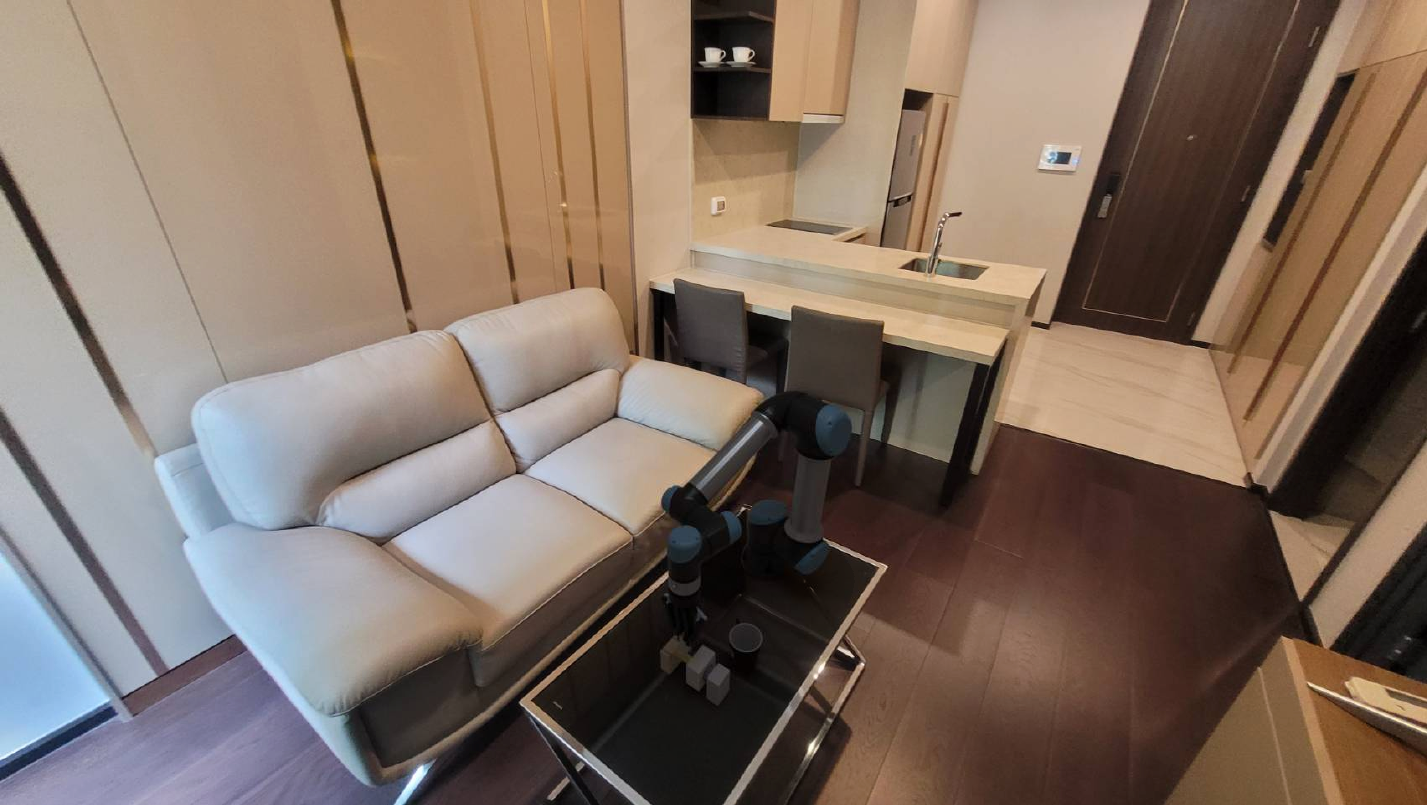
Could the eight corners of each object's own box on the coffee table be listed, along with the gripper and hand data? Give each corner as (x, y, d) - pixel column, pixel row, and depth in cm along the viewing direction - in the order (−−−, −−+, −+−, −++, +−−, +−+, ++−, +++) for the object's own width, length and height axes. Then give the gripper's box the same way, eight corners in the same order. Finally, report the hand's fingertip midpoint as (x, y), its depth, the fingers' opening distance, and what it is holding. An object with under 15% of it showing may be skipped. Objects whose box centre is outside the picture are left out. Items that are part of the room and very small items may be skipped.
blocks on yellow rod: (660, 668, 138) (660, 648, 134) (675, 652, 142) (674, 632, 139) (716, 707, 129) (717, 687, 125) (730, 689, 133) (731, 669, 130)
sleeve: (686, 682, 132) (686, 665, 129) (702, 662, 137) (702, 644, 134) (698, 691, 130) (699, 673, 127) (715, 670, 135) (715, 652, 132)
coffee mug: (757, 680, 136) (760, 655, 131) (725, 673, 137) (726, 648, 132) (763, 641, 146) (765, 617, 141) (732, 636, 147) (734, 611, 142)
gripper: (652, 582, 122) (656, 648, 134) (697, 608, 116) (697, 675, 127) (672, 563, 128) (674, 628, 139) (716, 587, 122) (714, 653, 133)
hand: (685, 650), depth 133 cm, fingers closed
